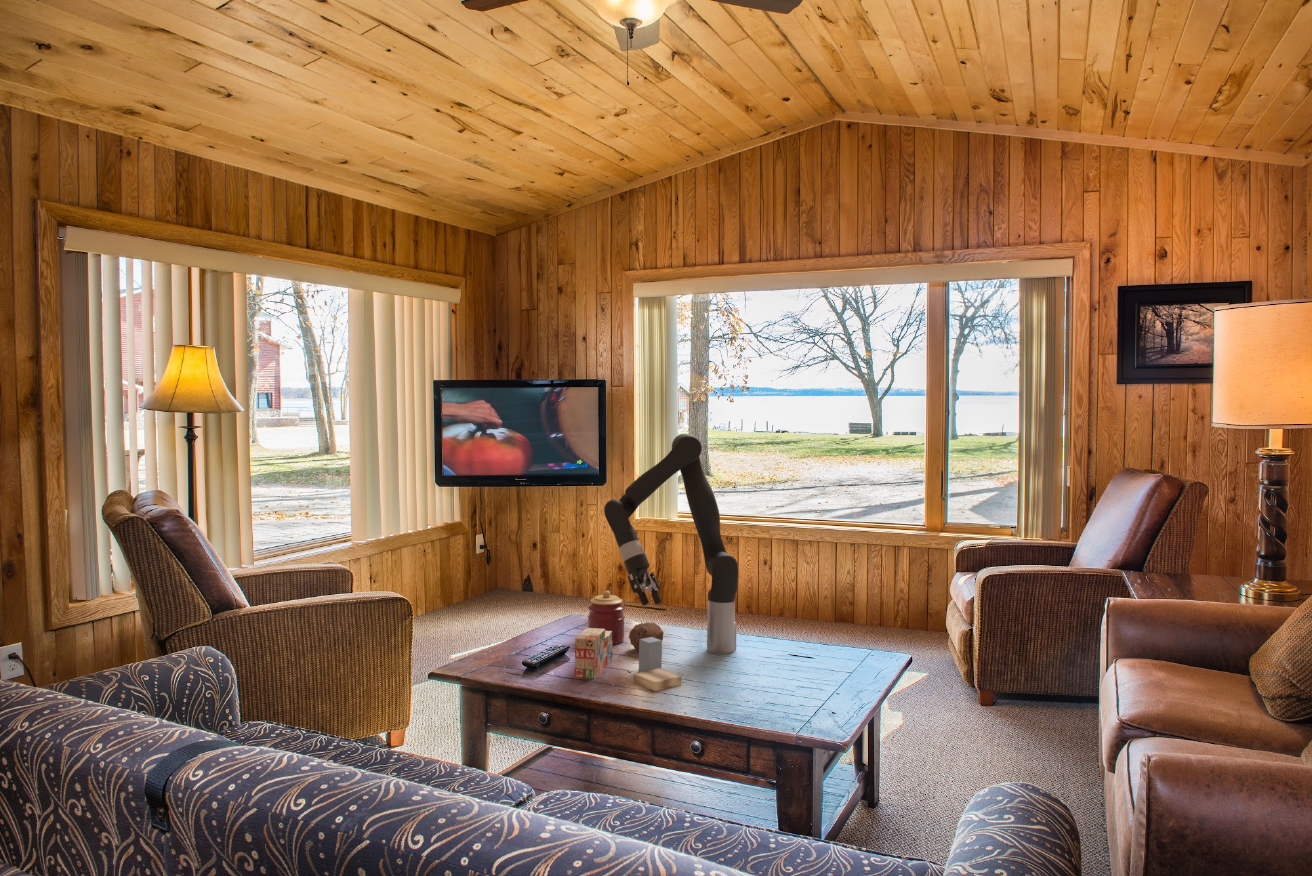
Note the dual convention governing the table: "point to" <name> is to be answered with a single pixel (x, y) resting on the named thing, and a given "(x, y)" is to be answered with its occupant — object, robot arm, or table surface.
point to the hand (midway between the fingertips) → (652, 604)
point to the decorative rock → (644, 633)
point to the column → (650, 654)
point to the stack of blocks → (592, 652)
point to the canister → (607, 615)
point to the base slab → (657, 679)
